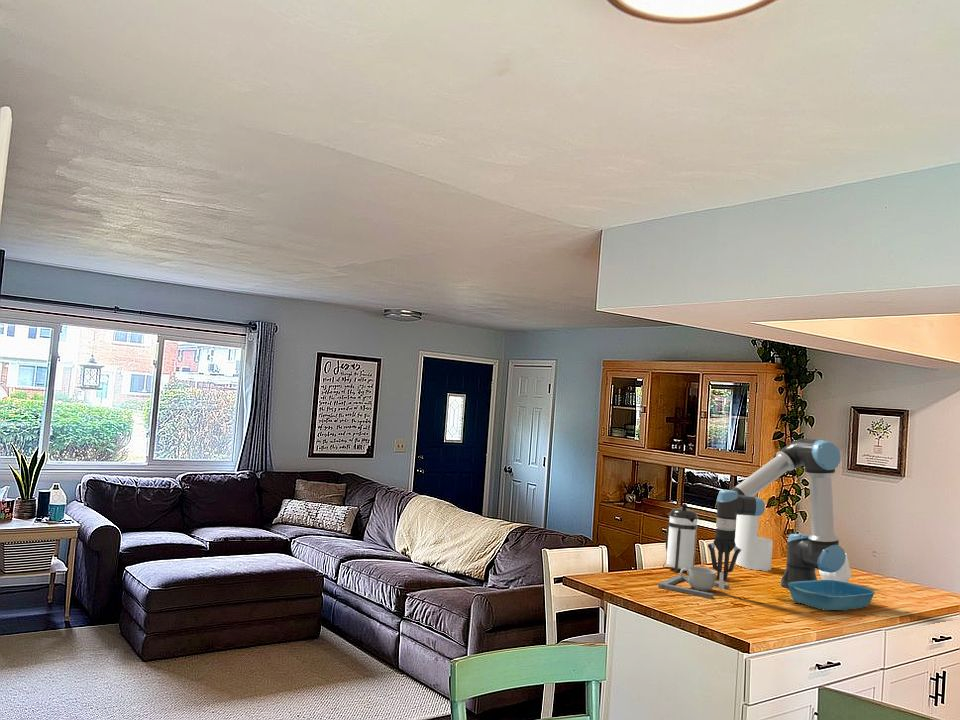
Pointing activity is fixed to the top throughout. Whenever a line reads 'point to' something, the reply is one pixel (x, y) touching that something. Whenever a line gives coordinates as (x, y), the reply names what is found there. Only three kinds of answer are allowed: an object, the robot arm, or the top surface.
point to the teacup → (700, 577)
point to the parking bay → (669, 585)
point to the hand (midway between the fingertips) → (721, 588)
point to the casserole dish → (830, 594)
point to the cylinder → (752, 544)
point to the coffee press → (681, 538)
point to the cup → (838, 573)
